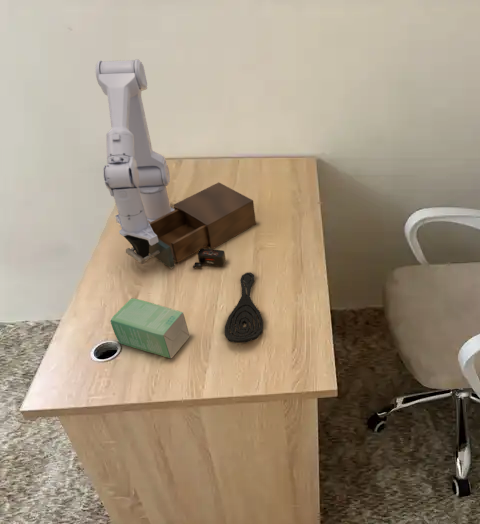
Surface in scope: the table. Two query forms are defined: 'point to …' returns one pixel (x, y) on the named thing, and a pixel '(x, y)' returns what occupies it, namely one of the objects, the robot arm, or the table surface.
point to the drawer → (174, 238)
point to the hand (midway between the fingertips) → (144, 256)
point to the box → (150, 327)
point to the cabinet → (220, 212)
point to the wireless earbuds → (210, 258)
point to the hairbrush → (244, 316)
